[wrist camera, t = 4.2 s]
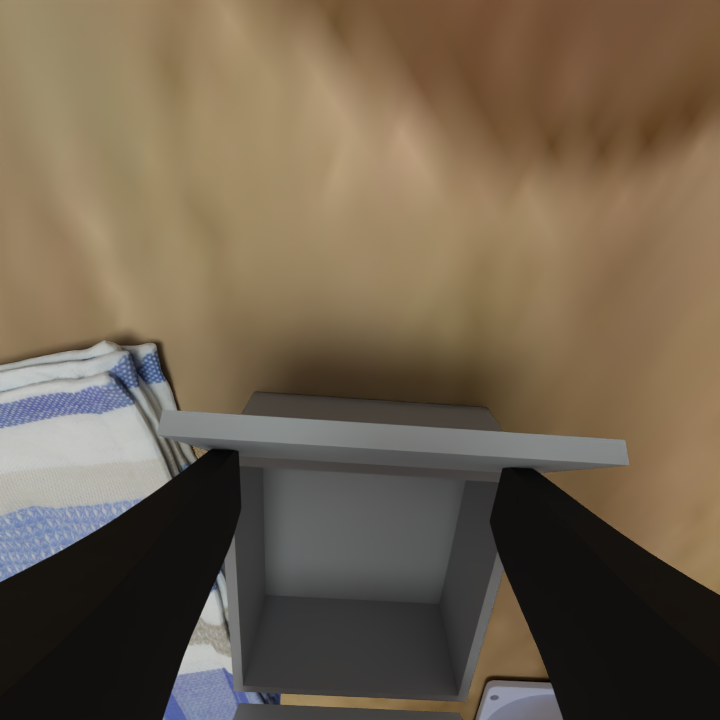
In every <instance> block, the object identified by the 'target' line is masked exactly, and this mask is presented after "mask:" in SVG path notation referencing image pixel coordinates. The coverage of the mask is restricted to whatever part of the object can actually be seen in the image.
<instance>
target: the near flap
mask: <svg viewBox="0 0 720 720" xmlns="http://www.w3.org/2000/svg"><path fill="white" fill-rule="evenodd" d="M157 435H158V436H162V437H165V438H168V439H172V440H175V441H178V442H181V443H185V444H188V445H191V446H195V447H198V448H201V449H205V450H208V451H209V450H211V449H224V450H237V451H239V456H245V457H261V458H277V459H293V460H309V461H325V462H341V463H357V464H373V465H389V466H405V467H421V468H437V469H453V470H469V471H485V472H502V468H507V467H515V468H532V469H534V470H536V471H537V472H539V473H546V472H557V471H568V470H580V469H591V468H602V467H614V466H625V465H629V459H628V454H627V448H626V442H625V440H618V439H603V438H588V437H573V436H557V435H542V434H527V433H512V432H496V431H481V430H466V429H451V428H435V427H420V426H405V425H389V424H374V423H359V422H344V421H328V420H313V419H298V418H283V417H267V416H252V415H237V414H222V413H206V412H191V411H176V410H162V414H161V419H160V423H159V427H158V432H157Z"/></svg>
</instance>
